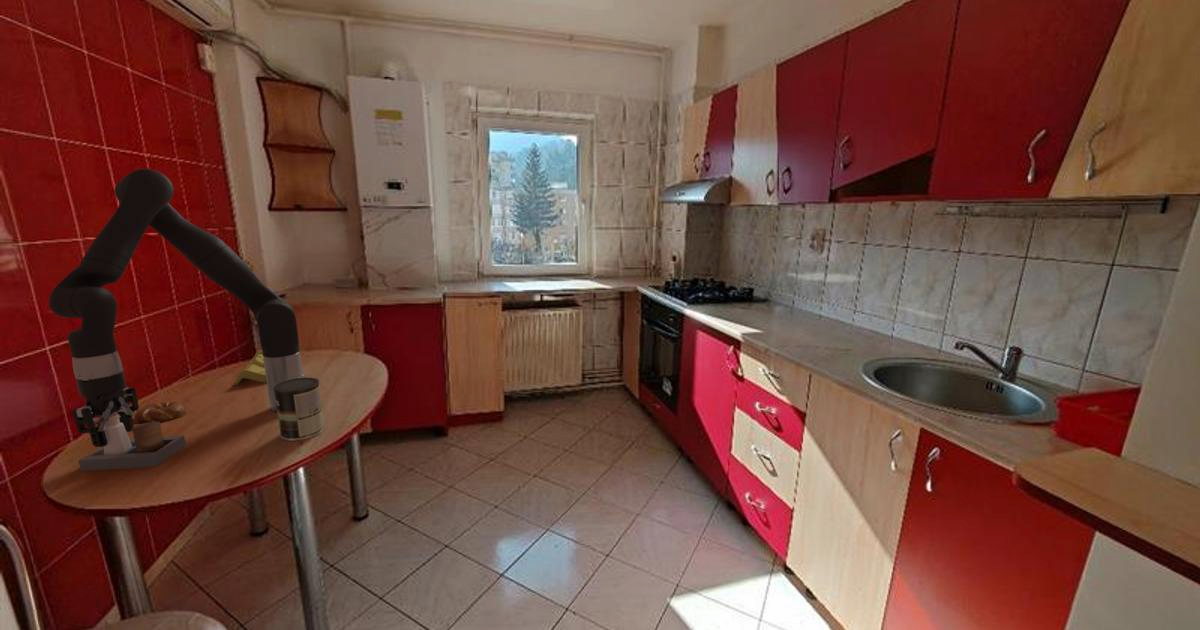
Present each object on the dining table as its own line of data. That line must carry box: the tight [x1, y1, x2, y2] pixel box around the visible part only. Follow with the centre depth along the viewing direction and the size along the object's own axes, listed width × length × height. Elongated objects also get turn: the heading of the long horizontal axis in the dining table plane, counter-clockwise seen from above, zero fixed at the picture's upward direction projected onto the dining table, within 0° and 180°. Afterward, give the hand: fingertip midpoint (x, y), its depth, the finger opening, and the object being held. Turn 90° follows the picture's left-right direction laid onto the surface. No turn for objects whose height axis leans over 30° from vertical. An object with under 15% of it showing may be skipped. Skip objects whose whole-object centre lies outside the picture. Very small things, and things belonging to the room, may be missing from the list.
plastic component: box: [233, 349, 267, 386], centre depth 169 cm, size 20×7×10 cm
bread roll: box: [133, 401, 187, 425], centre depth 136 cm, size 12×11×4 cm
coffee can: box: [273, 377, 325, 442], centre depth 126 cm, size 10×10×14 cm
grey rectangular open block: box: [78, 435, 187, 472], centre depth 112 cm, size 15×10×4 cm, turn 99°
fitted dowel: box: [131, 422, 165, 453], centre depth 111 cm, size 5×5×8 cm
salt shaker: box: [103, 413, 132, 455], centre depth 110 cm, size 5×5×11 cm
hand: (114, 438), depth 110 cm, fingers open, 7 cm apart
